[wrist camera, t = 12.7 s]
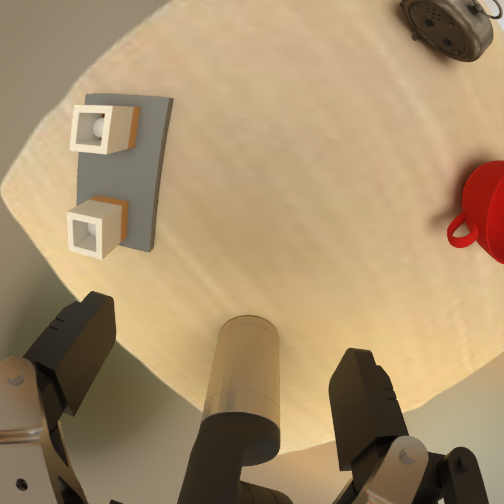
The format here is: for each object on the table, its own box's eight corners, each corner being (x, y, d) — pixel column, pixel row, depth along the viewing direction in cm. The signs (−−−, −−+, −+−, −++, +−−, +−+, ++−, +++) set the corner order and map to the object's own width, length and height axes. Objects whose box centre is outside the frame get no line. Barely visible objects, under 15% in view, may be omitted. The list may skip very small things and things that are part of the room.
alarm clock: (457, 52, 25) (536, 37, 10) (439, 73, 27) (522, 62, 12) (400, -7, 22) (462, -54, 8) (379, 12, 24) (440, -38, 10)
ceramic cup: (412, 178, 33) (453, 199, 24) (495, 140, 29) (540, 152, 20) (433, 259, 38) (466, 295, 29) (508, 216, 34) (546, 240, 25)
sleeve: (140, 107, 30) (112, 106, 24) (134, 147, 32) (106, 154, 26) (106, 105, 30) (74, 105, 24) (101, 143, 32) (69, 150, 26)
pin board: (153, 247, 39) (128, 278, 32) (82, 231, 39) (49, 255, 31) (173, 98, 31) (145, 93, 23) (92, 94, 31) (53, 92, 23)
